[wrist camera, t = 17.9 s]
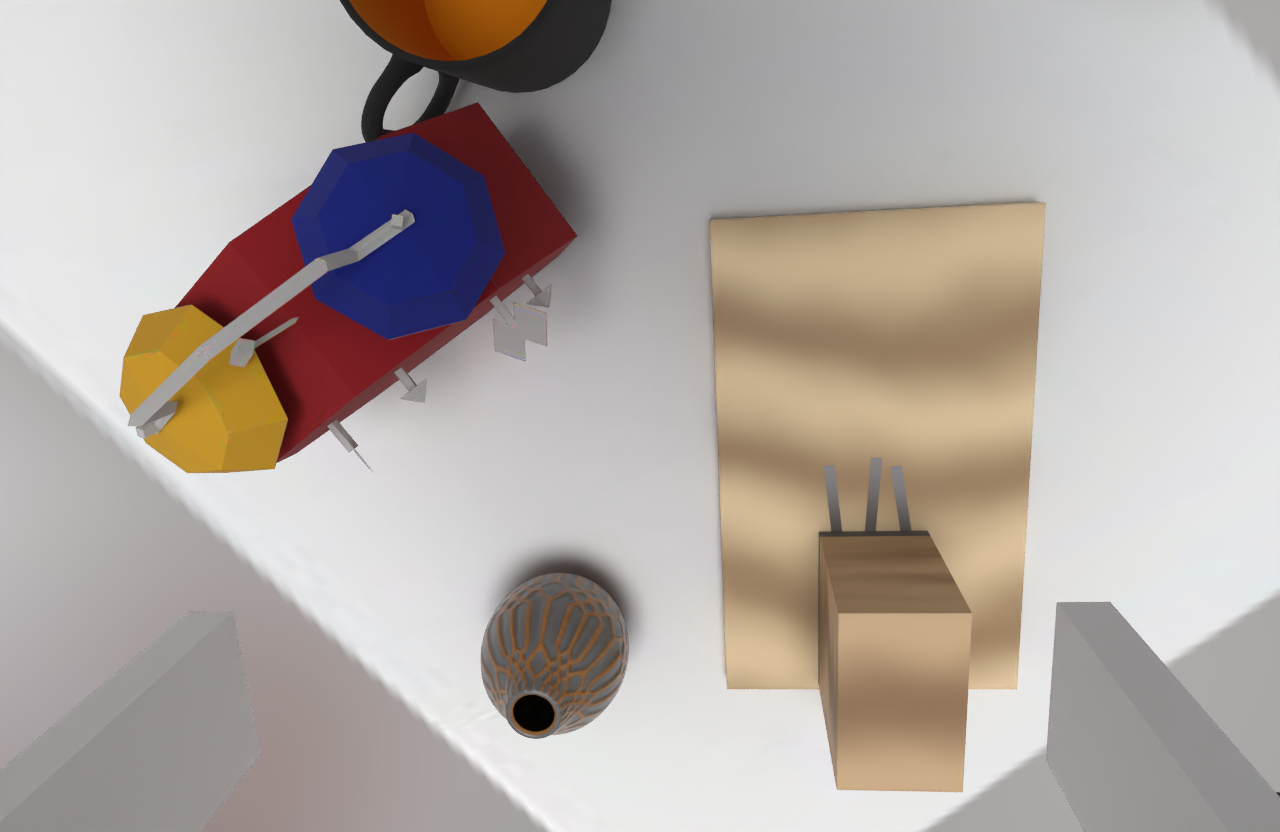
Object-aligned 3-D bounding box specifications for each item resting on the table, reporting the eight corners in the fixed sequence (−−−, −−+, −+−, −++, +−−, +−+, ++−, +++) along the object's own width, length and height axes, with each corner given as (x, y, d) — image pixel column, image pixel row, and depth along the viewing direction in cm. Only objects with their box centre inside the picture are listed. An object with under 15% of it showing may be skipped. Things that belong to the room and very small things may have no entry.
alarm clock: (519, 109, 40) (326, 59, 21) (636, 268, 41) (557, 359, 22) (283, 305, 43) (-70, 418, 24) (398, 446, 45) (151, 658, 26)
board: (710, 219, 40) (709, 221, 39) (1036, 201, 39) (1045, 203, 38) (726, 675, 46) (727, 689, 45) (1009, 675, 45) (1016, 689, 44)
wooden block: (818, 531, 43) (838, 613, 35) (927, 530, 42) (972, 613, 34) (818, 681, 45) (836, 789, 37) (921, 682, 44) (962, 792, 37)
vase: (659, 642, 46) (644, 749, 38) (545, 694, 48) (506, 807, 39) (592, 531, 45) (562, 615, 37) (477, 587, 46) (422, 681, 38)
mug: (350, 99, 40) (227, 78, 31) (481, -161, 37) (391, -279, 27) (506, 202, 41) (436, 215, 31) (649, -45, 38) (622, -119, 28)
